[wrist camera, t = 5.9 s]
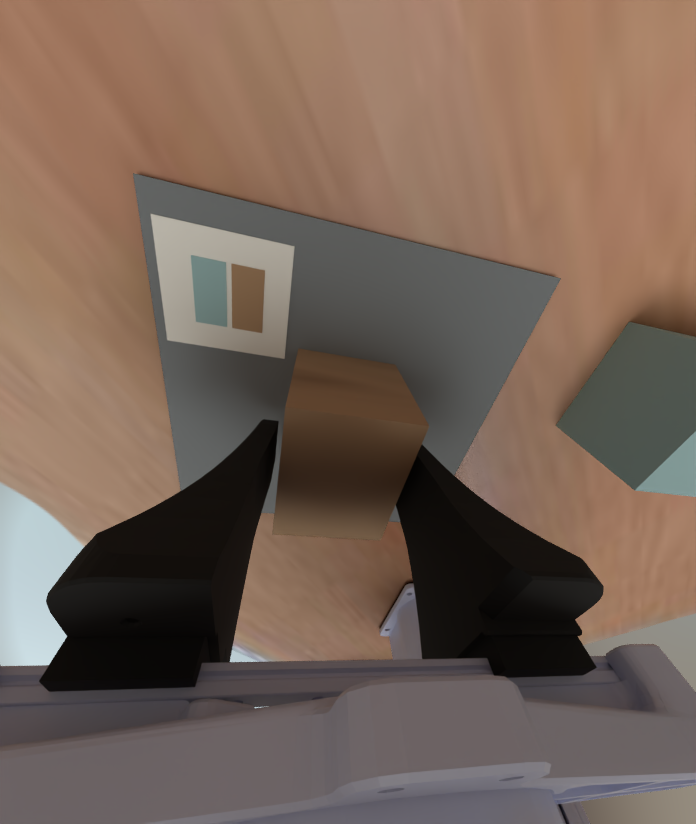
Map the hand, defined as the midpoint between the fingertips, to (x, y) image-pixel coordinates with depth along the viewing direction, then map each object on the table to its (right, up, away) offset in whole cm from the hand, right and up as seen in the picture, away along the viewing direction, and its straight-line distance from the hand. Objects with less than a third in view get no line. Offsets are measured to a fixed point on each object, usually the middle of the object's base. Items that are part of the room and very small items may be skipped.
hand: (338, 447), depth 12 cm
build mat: (0, +2, +2) cm, 3 cm away
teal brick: (+15, +3, +3) cm, 16 cm away
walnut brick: (0, +2, +2) cm, 3 cm away
